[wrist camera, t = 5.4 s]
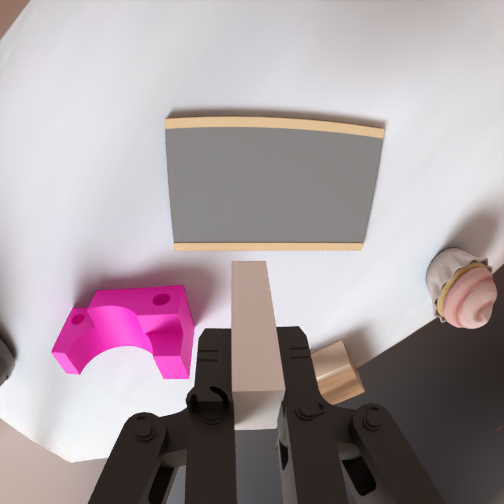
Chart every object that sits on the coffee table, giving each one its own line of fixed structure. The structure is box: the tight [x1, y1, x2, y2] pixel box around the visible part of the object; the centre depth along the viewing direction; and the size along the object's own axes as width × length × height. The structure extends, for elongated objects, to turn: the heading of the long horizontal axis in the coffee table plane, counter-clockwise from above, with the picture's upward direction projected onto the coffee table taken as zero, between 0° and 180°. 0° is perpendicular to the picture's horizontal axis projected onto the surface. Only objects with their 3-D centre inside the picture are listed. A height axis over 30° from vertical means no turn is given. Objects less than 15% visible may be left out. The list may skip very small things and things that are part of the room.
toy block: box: [51, 285, 195, 379], centre depth 29 cm, size 15×6×8 cm, turn 94°
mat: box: [165, 116, 384, 251], centre depth 25 cm, size 18×12×1 cm, turn 88°
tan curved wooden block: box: [311, 340, 365, 405], centre depth 39 cm, size 4×10×9 cm
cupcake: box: [426, 248, 497, 328], centre depth 28 cm, size 9×9×10 cm
